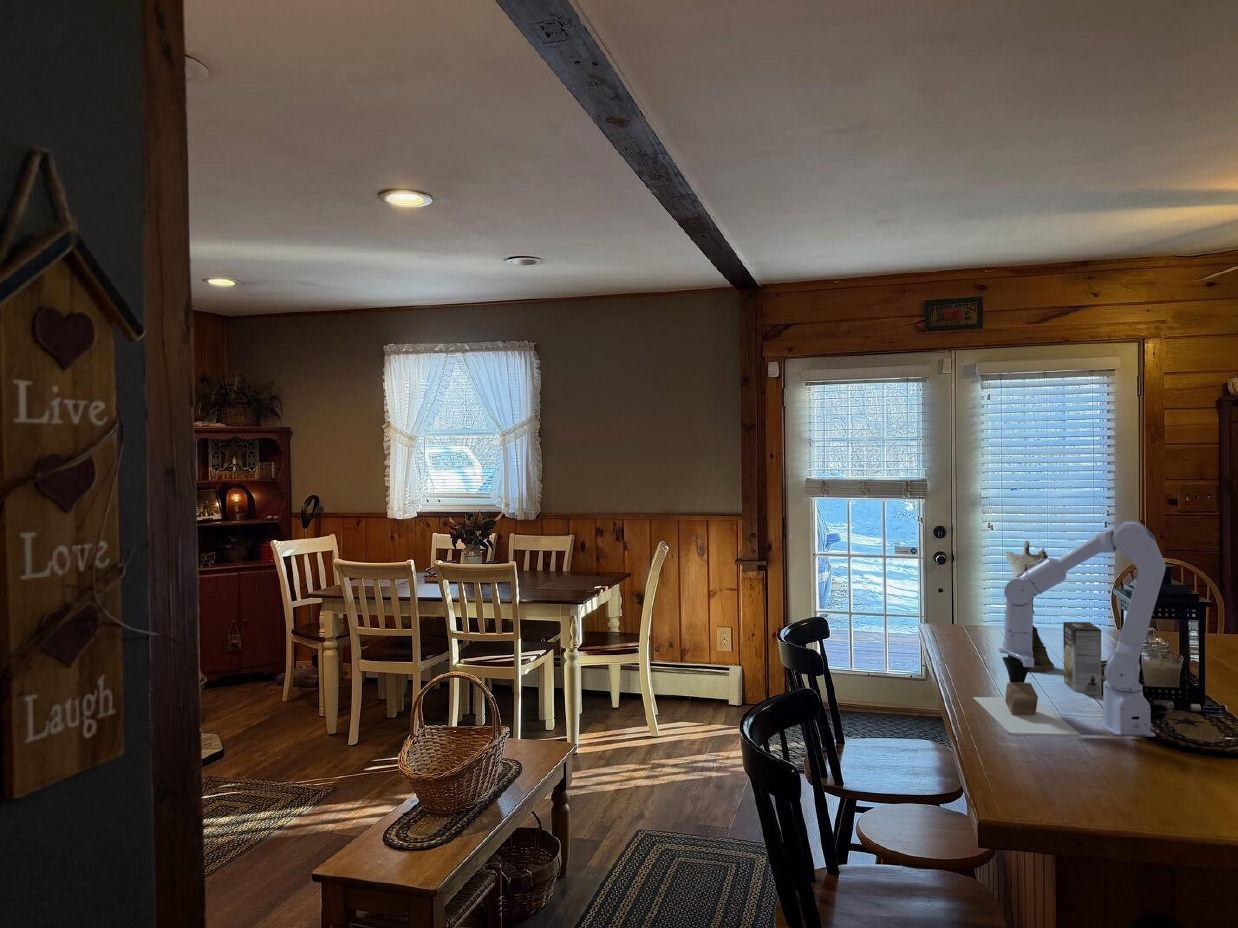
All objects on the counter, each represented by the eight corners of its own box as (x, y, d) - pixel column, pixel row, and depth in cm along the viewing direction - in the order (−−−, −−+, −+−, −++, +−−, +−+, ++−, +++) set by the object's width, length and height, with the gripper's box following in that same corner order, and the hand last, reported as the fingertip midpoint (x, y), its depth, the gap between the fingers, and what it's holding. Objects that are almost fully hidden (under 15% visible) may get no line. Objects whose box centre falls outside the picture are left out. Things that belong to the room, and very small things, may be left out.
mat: (1080, 736, 176) (1080, 733, 176) (1010, 735, 178) (1010, 732, 178) (1034, 700, 202) (1034, 697, 202) (972, 699, 204) (972, 697, 204)
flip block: (1027, 700, 194) (1035, 715, 189) (1004, 700, 194) (1011, 714, 190) (1030, 682, 192) (1038, 697, 187) (1007, 682, 192) (1014, 696, 188)
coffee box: (1062, 684, 215) (1062, 621, 215) (1090, 685, 214) (1089, 621, 214) (1074, 694, 206) (1073, 628, 206) (1103, 695, 205) (1102, 629, 205)
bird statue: (1071, 677, 221) (1069, 543, 221) (1017, 675, 224) (1015, 543, 223) (1052, 662, 237) (1050, 537, 237) (1002, 660, 240) (1000, 537, 240)
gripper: (990, 622, 199) (988, 679, 200) (1010, 637, 185) (1009, 699, 186) (1021, 623, 199) (1019, 680, 199) (1044, 638, 184) (1042, 700, 185)
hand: (1016, 689), depth 192 cm, fingers closed, pressing on flip block
